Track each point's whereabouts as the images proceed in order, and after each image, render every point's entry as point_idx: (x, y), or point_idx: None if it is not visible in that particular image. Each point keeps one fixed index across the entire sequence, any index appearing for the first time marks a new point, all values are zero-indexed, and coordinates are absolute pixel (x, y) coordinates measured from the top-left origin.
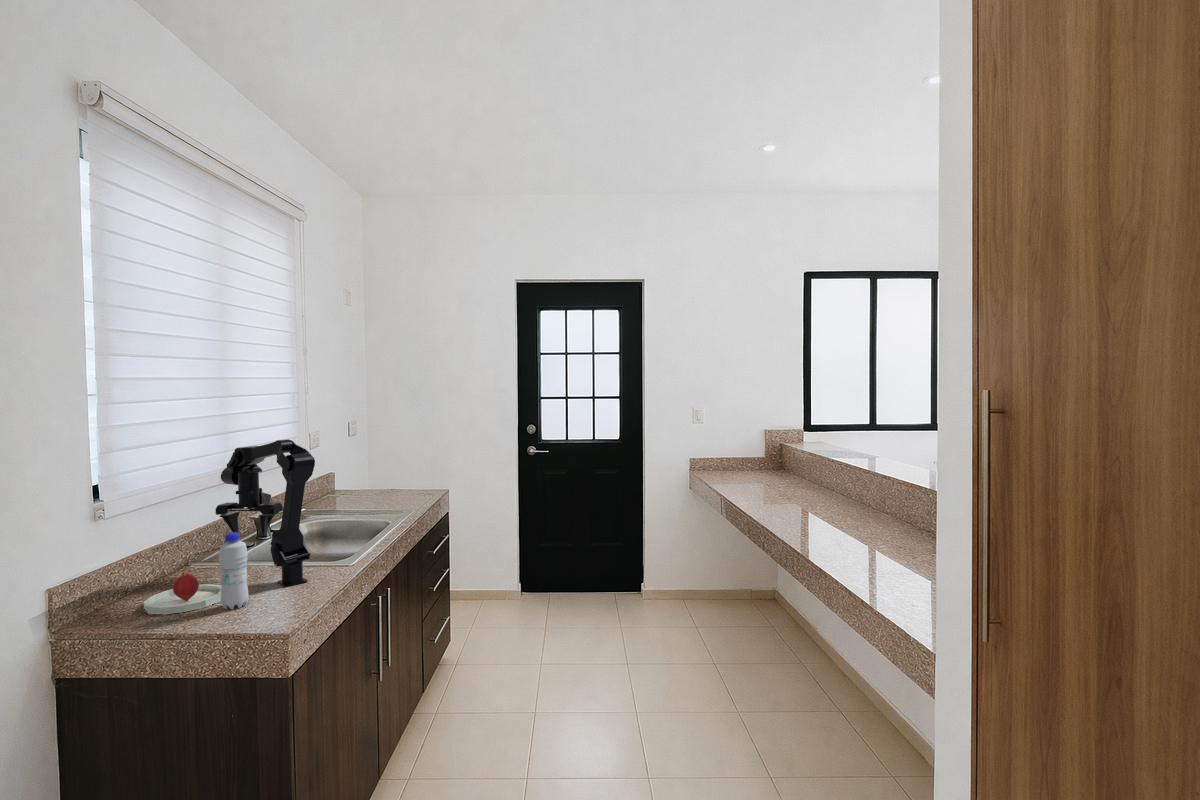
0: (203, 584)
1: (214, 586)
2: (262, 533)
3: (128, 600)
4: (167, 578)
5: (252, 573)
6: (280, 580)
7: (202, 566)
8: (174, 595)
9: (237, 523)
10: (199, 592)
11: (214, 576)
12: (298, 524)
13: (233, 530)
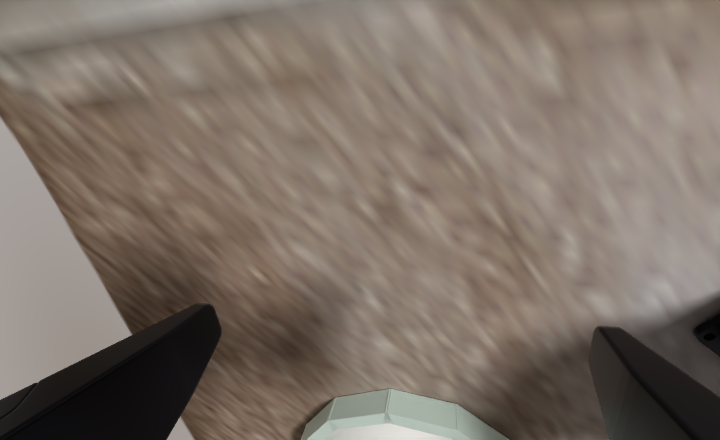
0: (376, 414)
1: (439, 433)
2: (603, 403)
3: (218, 427)
4: (106, 251)
5: (426, 175)
6: (713, 330)
7: (54, 73)
8: (329, 436)
9: (67, 414)
10: (393, 424)
11: (264, 227)
12: None
13: (178, 412)
